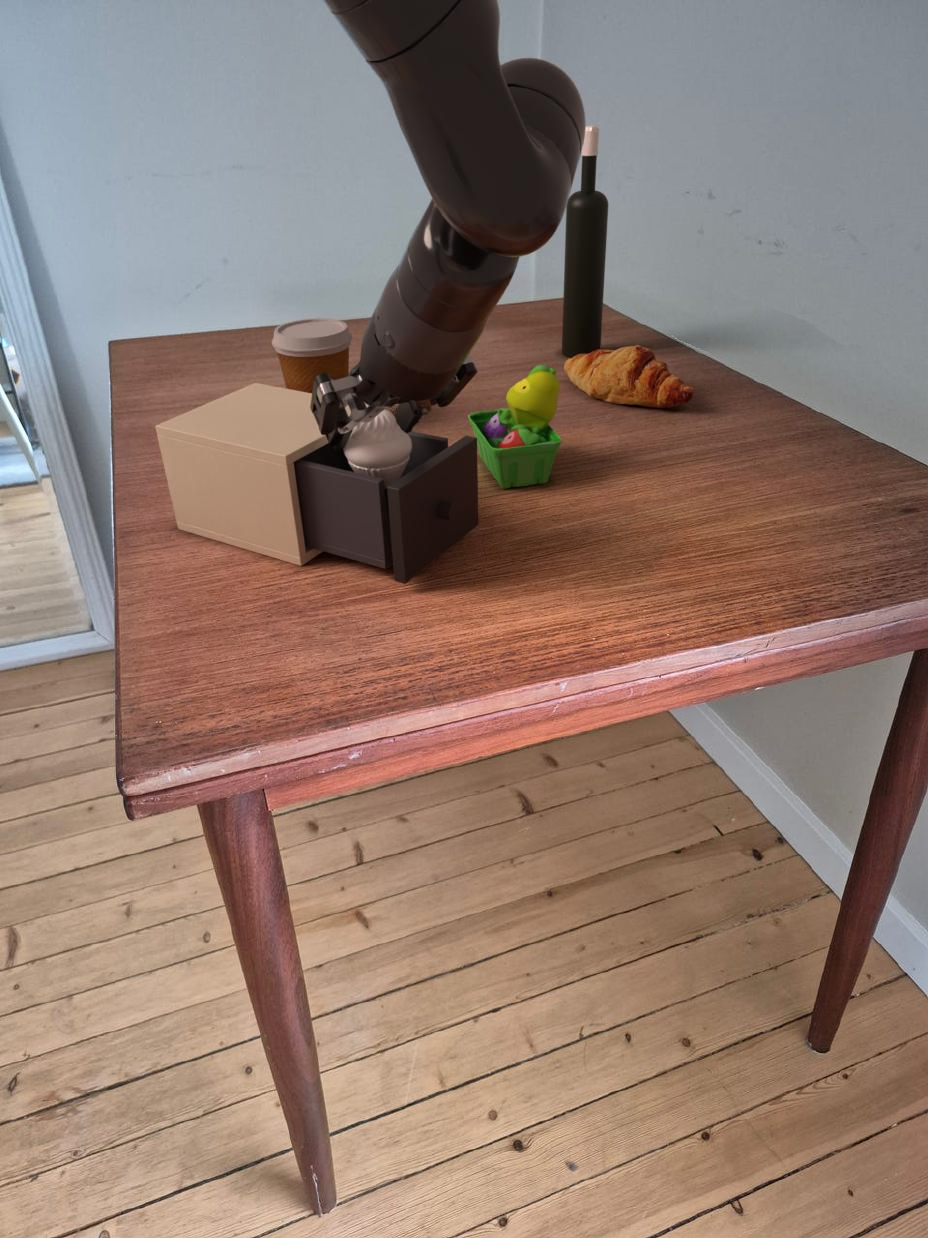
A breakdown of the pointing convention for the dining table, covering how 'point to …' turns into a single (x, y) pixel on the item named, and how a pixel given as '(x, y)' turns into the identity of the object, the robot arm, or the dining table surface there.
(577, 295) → the wine bottle
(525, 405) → the fruit basket
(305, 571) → the dining table surface
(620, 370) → the croissant
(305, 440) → the cabinet
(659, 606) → the dining table surface
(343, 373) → the disposable coffee cup
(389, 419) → the muffin
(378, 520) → the pulled-out nightstand drawer
